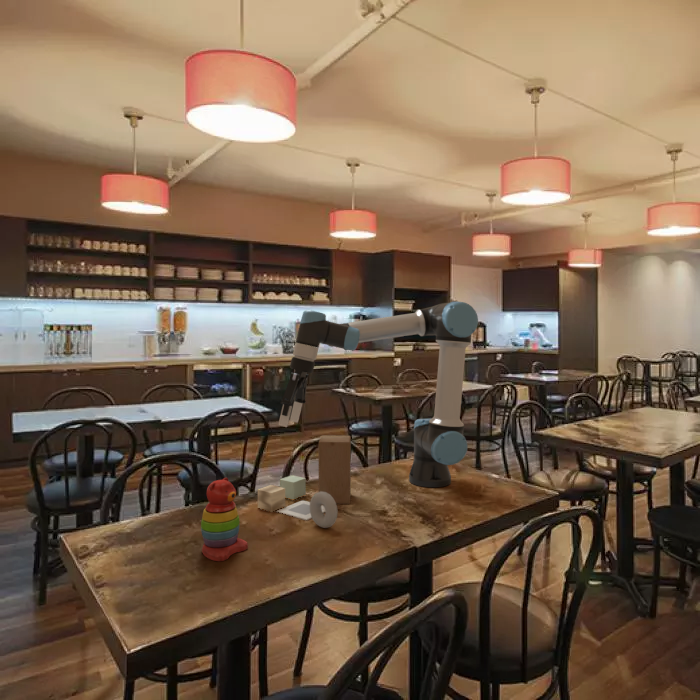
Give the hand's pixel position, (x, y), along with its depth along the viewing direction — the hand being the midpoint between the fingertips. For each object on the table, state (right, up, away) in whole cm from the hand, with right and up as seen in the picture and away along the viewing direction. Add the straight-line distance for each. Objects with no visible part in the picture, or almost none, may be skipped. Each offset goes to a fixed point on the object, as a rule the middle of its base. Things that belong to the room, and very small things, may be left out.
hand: (288, 423), depth 166 cm
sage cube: (+1, -25, +8) cm, 26 cm away
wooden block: (+15, -25, +5) cm, 30 cm away
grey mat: (+6, -26, -6) cm, 27 cm away
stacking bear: (-13, -27, -35) cm, 46 cm away
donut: (+12, -26, -19) cm, 35 cm away
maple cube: (-5, -26, -3) cm, 26 cm away
